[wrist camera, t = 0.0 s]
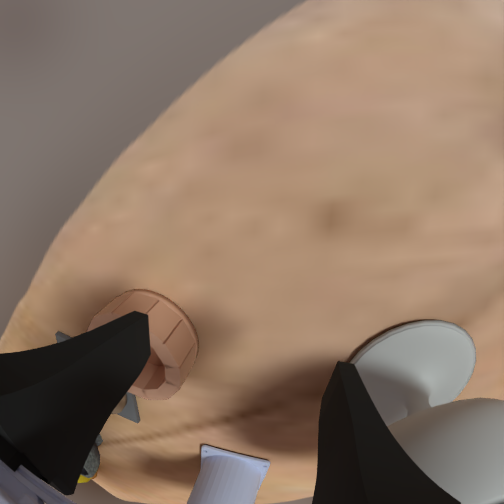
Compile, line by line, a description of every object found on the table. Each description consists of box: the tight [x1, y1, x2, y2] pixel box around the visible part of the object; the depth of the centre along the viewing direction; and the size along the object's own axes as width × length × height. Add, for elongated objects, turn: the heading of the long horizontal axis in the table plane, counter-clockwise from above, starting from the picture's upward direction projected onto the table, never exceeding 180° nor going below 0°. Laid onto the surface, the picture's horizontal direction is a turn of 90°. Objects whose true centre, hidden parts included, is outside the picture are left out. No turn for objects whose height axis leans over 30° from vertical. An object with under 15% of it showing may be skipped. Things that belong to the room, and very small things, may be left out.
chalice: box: [349, 320, 504, 504], centre depth 14 cm, size 14×14×15 cm
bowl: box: [87, 289, 199, 400], centre depth 23 cm, size 8×8×4 cm
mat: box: [55, 331, 140, 423], centre depth 29 cm, size 10×10×1 cm
